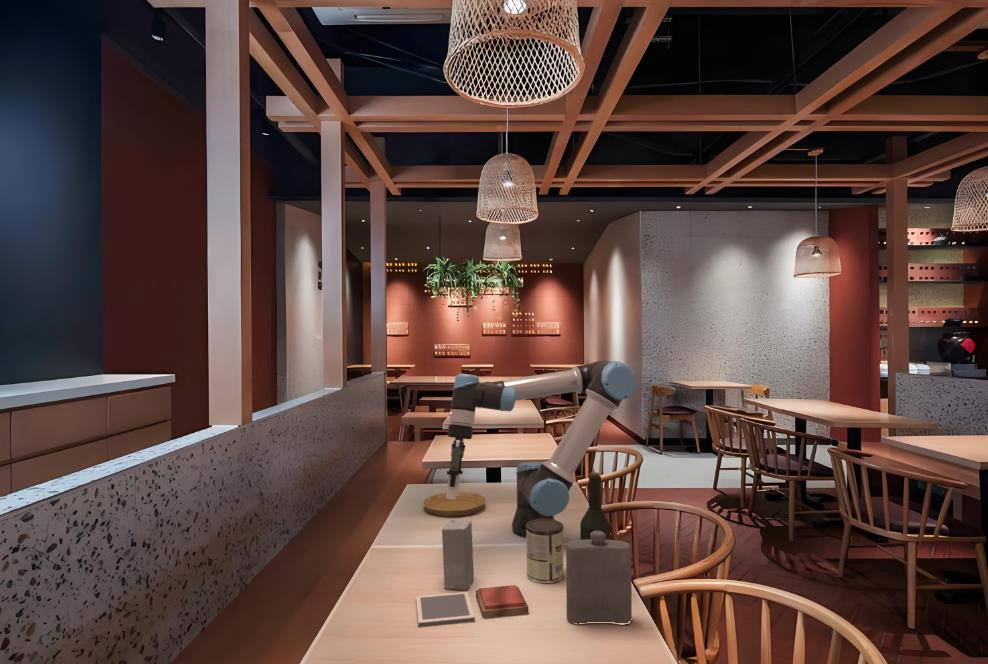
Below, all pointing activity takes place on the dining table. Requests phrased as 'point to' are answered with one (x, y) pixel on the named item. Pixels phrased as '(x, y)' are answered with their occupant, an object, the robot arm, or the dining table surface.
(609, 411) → the robot arm
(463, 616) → the marked board
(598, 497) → the wine bottle
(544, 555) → the coffee can
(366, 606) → the dining table surface
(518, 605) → the ink pad
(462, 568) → the skincare box
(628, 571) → the flask
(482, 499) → the plant saucer
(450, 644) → the dining table surface
